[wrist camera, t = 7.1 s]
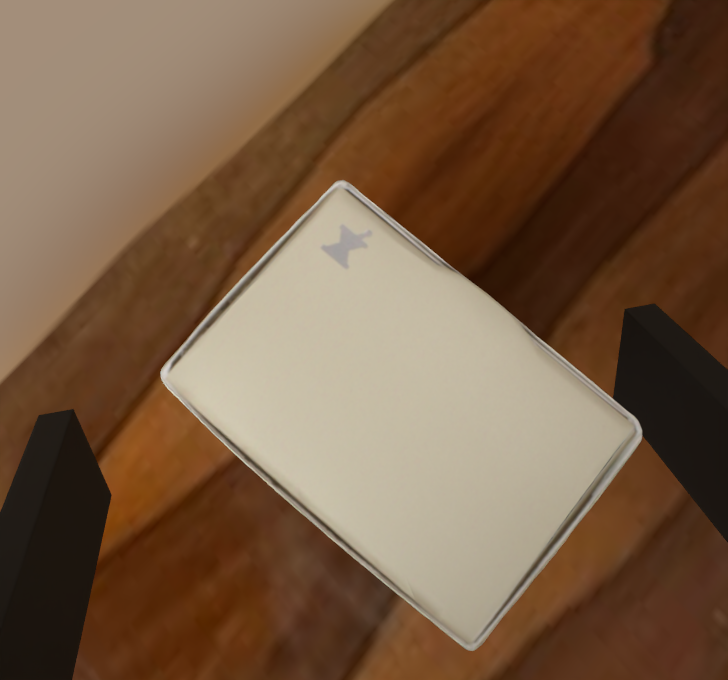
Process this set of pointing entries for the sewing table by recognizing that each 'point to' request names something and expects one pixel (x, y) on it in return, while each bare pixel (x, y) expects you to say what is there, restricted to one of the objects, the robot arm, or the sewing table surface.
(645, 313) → the robot arm
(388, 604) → the sewing table surface
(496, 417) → the cosmetic box
